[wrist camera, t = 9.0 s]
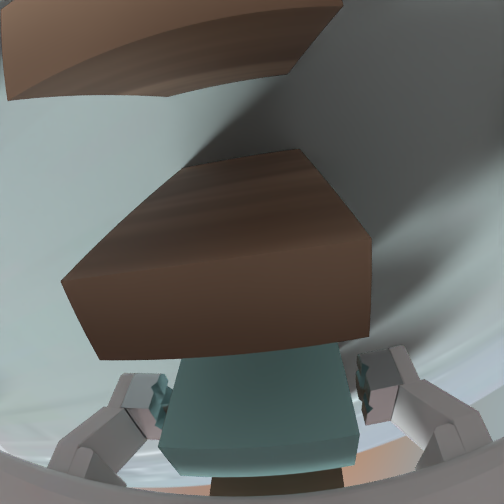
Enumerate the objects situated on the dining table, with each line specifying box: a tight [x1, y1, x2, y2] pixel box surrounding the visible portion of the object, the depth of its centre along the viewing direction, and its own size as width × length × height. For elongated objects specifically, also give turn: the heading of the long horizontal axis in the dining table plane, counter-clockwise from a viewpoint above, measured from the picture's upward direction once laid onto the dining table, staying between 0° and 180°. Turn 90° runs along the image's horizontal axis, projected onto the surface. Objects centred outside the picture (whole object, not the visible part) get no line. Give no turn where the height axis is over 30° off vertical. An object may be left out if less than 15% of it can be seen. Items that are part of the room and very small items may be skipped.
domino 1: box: [1, 0, 343, 101], centre depth 7 cm, size 2×5×10 cm, turn 100°
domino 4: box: [210, 467, 344, 497], centre depth 13 cm, size 2×5×10 cm, turn 100°
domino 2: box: [61, 149, 372, 360], centre depth 9 cm, size 2×5×10 cm, turn 100°
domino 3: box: [158, 342, 360, 477], centre depth 11 cm, size 2×5×10 cm, turn 100°
